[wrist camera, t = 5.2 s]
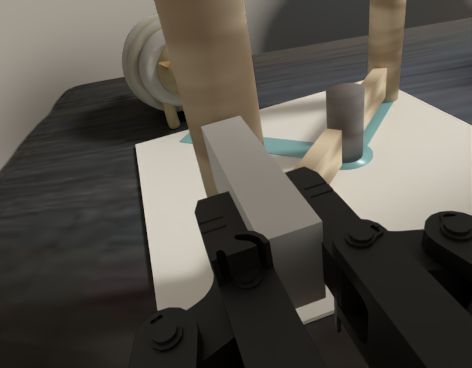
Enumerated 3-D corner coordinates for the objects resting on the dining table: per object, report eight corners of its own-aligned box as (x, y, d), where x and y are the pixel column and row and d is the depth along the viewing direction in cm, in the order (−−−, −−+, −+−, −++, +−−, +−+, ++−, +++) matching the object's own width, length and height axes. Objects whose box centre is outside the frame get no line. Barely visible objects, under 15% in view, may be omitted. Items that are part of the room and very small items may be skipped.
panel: (313, 160, 30) (293, -182, 19) (356, 167, 28) (363, -206, 17) (215, 292, 21) (58, -220, 10) (269, 314, 19) (156, -279, 8)
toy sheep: (164, 151, 38) (127, 38, 32) (123, 105, 51) (92, 18, 45) (253, 116, 41) (236, 7, 35) (193, 80, 54) (173, -4, 48)
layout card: (373, 79, 44) (374, 76, 43) (624, 205, 22) (626, 200, 22) (136, 147, 40) (135, 143, 39) (167, 375, 19) (165, 371, 18)
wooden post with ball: (369, 93, 41) (379, -168, 29) (403, 94, 39) (428, -182, 27) (321, 164, 31) (306, -182, 19) (363, 170, 30) (375, -205, 18)
